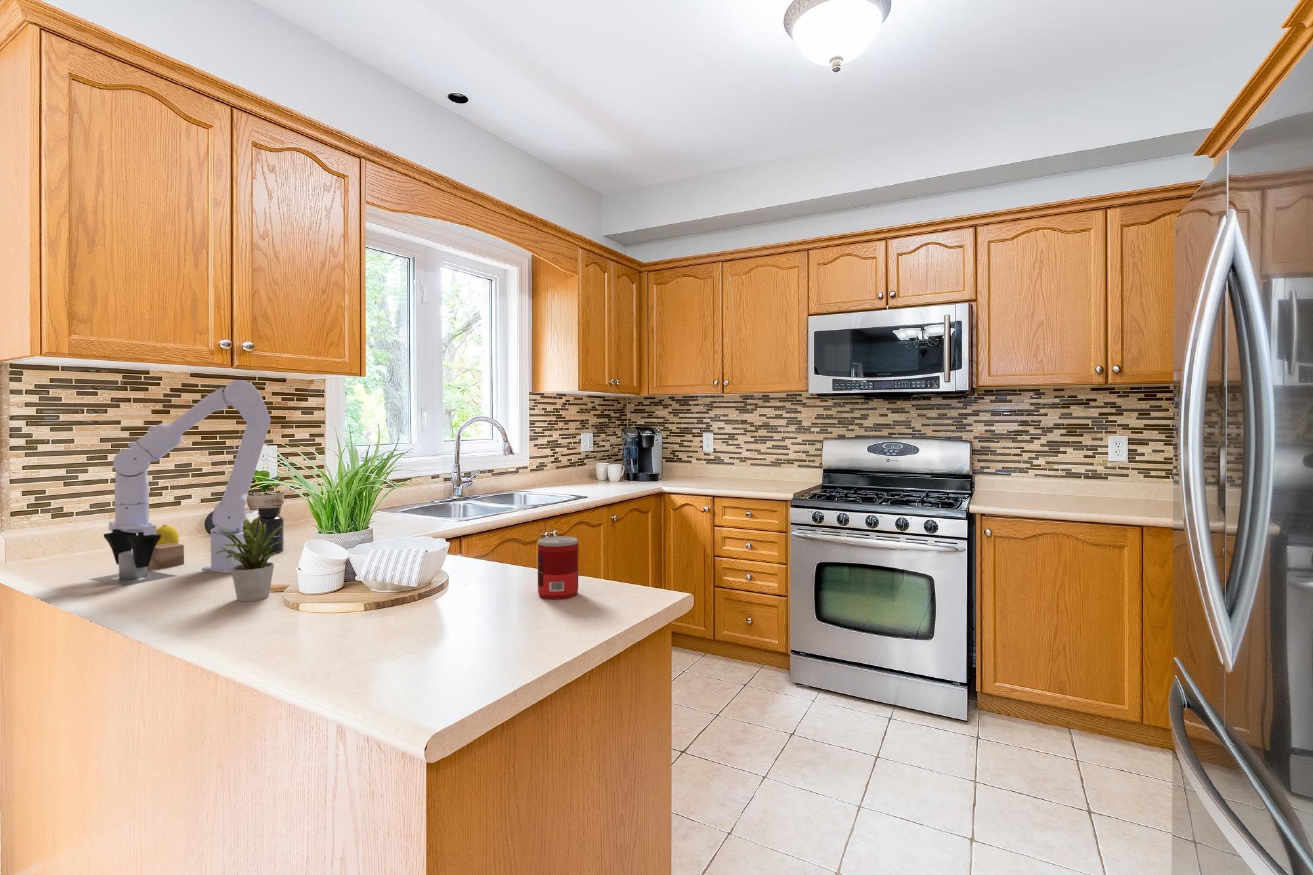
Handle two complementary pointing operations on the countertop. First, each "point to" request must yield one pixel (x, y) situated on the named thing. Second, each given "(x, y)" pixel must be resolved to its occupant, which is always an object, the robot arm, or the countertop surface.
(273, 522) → the supplement bottle
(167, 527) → the lemon
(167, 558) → the walnut cube
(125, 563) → the grey jar
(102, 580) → the letter card
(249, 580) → the house plant
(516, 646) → the countertop surface
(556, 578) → the canned food
